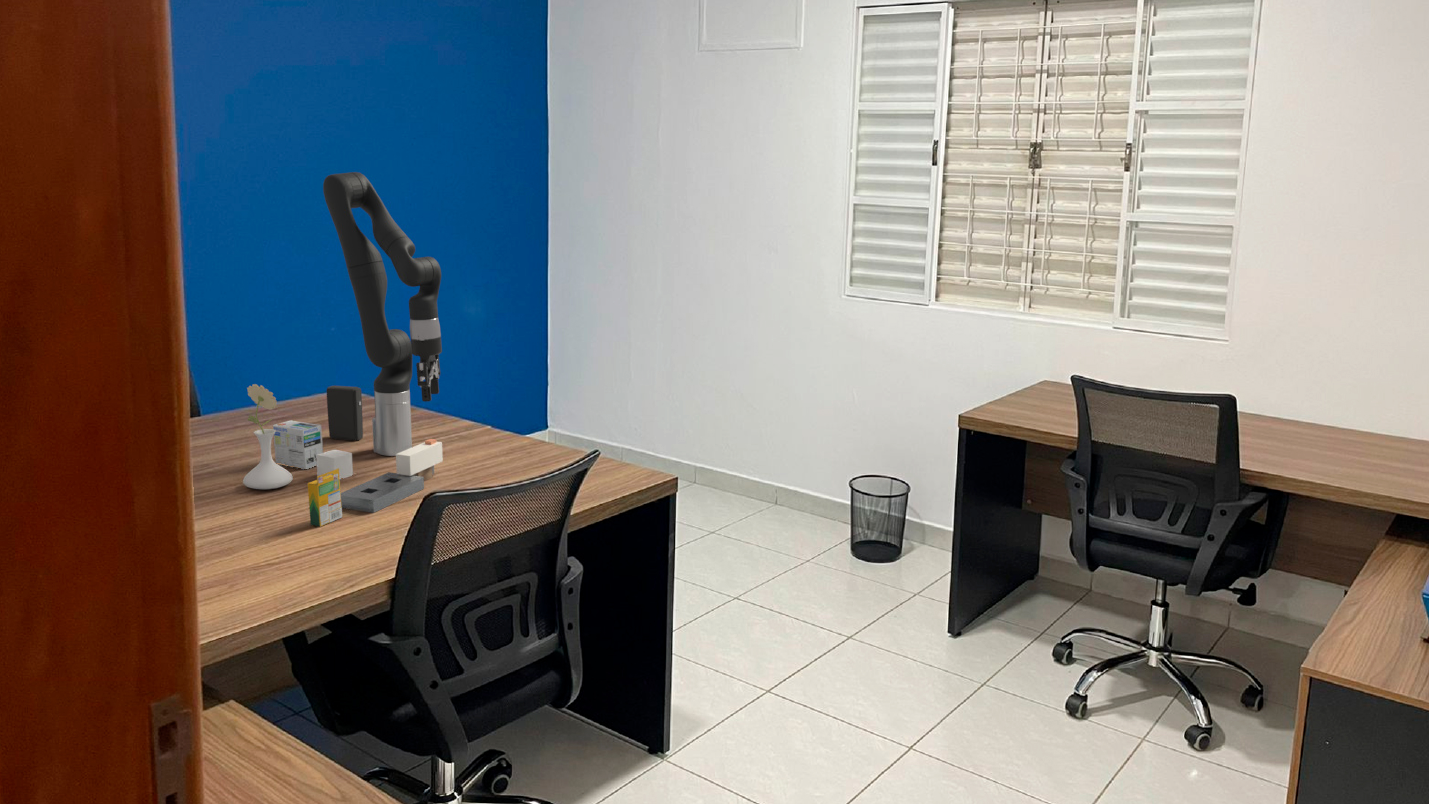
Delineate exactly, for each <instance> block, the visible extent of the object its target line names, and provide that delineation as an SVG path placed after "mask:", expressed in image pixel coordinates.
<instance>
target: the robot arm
mask: <svg viewBox="0 0 1429 804" xmlns="http://www.w3.org/2000/svg"><path fill="white" fill-rule="evenodd" d="M323 180H324V181H323V186H322V187H323V188H322V190H323V191H322V192H323V197H324V200H325V203H326V207H327V209H328V211H329V215H330V217H331V220H332V222H333V224H334V228H335V230H336V232H337V233H336V234H337V236H338V240H339V243H340V247H341V249H342V252H343V256H344V257H343V258H344V261H345V265H346V269H347V272H348V273H347V274H348V277H349V281H350V284H351V286H352V290H353V295H354V298H355V302H356V307H357V309H358V314H359V319H360V323H361V324H360V325H361V329H362V337H363V342H364V346H365V347H364V348H365V352H366V355H367V357H368V359H369V361H370V362H371V363H372V364H373V365H374V366H376V367H377V368H381V370H380V372H379V374H378V375H377V377H375V379H374V381H373V394H374V395H373V399H374V413H375V414H374V417H372V419H371V422H372V423H371V424H372V425H371V426H372V440H373V441H372V442H373V443H372V444H373V446H372V447H373V453H376V454H378V455H381V456H387V457H390V456H391V457H394V456H395V457H396V454H397V453H400V452H402V451H405V450H407V449H409V448H412V447H413V441H412V416H411V392H410V384H411V381H412V378H413V356H415V357H419V362H416V364H415V365H416V376H417V377H416V378H417V387H420V390H421V400H422V402H432V395H438V394H439V393H440V387H439V385H440V384H439V379H440V376H441V375H442V374H441V367H440V366H441V365H440V354H441V353H443V349H442V348H443V347H442V333H441V325H440V321H439V314H438V313H439V310H438V299H439V294H440V293H439V291H440V287H441V282H442V270H441V266H440V264H439V262H438V261H437V259H435V257H432V256H423V257H414V258H413V256H414V255H415V252H416V245H415V244H414V243H413V241H412V240H411V239H410V237H408V235H407V234H406V233H405V232H404V231H403V230H402V229H401V227H400V226H399V225H398V224H397V222H395V220H394V219H393V217H392V216H391V214H390V212H389V210H388V209H387V207H386V206H385V204H384V202H383V200H382V199H381V197H380V196H379V195H378V193H377V191H376V189H375V187H374V186H373V184H372V183H371V182H370V180H369V179H368V178H367V177H366V176H365V174H362V172H358V171H353V172H352V171H351V172H345V173H344V172H342V173H341V172H340V173H333V174H332V173H331V174H329V175H327V176H326V177H325V179H323ZM357 208H361V209H362V210H363V211H364V212H365V213H366V214H367V215H368V216H369V218H370V219H371V228H372V234H373V238H374V240H375V242H376V243H377V245H378V246H379V248H380V249H381V250H382V251H383V252H384V253H385V254H386V256H387V257H388V258H389V260H390V261H391V264H392V265H393V267H394V270H395V272H396V274H397V276H398V279H399V280H400V281H401V282H402V284H404V285H406V286H408V287H412V288H413V287H414V288H416V287H419V289H418V292H417V293H416V294H414V295H412V296H410V298H409V300H408V308H409V310H408V311H409V319H410V320H409V332H410V335H409V336H410V337H409V336H408V334H407V333H406V331H403V330H402V329H398V328H394V329H393V328H392V329H389V326H388V321H387V319H386V311H385V304H386V296H387V291H388V276H387V272H386V267H385V264H384V262H383V258H382V255H381V253H380V251H379V250H378V249H377V247H376V246H375V245H374V244H373V243H372V242H371V240H370V239H368V237H367V236H366V235H365V234H364V233H363V232H362V231H361V229H360V227H359V226H358V225H357V223H356V220H355V218H354V214H353V211H352V209H357Z"/></svg>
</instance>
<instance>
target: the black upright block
mask: <svg viewBox="0 0 1429 804" xmlns="http://www.w3.org/2000/svg"><path fill="white" fill-rule="evenodd" d="M362 397H363V396H362V389H361V388H360V387H358V386H347V385H346V386H345V385H330V386H328V387H327V388H326V404H327V421H328V435H329V438H330V439H332V440H340V441H341V440H342V441H343V440H344V441H354V440H356V441H359V440H361V439H363V437H364V419H363V400H362V399H363V398H362Z"/></svg>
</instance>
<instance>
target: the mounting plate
mask: <svg viewBox="0 0 1429 804" xmlns="http://www.w3.org/2000/svg"><path fill="white" fill-rule="evenodd" d="M424 489H425V481H424V477H421V476H413V475H411V476H409V475H401V474H397V472H385V473H384V474H382V475H379V476H377V477H375V478H373V479H370V480H367V481H365V482H363V483H360V484H357V485H356V486H354V487H352V488H350V489H347V490H344V491H342V492H340V493H341V507H342V509H345V508H346V510H354V511H358V512H359V511H360V512H366V513H367V512H368V513H373V514H374V513H377V512H378V511H381V510H382V509H385V508H387V507H390V506H391V505H394V504H395V503H398V502H400V501H401V500H404V499H405V498H407V497H409V496H412V495H413V494H415V493H418V492H420V491H422V490H424Z"/></svg>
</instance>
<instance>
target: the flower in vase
mask: <svg viewBox="0 0 1429 804" xmlns="http://www.w3.org/2000/svg"><path fill="white" fill-rule="evenodd" d="M246 389H247V395H248V397H250V398H251V400H252V401H253V402H254V404H256V405H257V406H256V407H255V408H256V409H255V414H254V415H255V416H254V415H252V414H249V415H248V418H247V421H248V422H252V423H254V424H256V425H257V424H258V426H259V428H260V429H257V430H255V431H253V434H254V435H255V437H256V438H257V440H258V442H259V447H260V453H261V456H260V461H259V463H258V464H257V465H256V466H255V467H254V468H252V469H251V470H250V471H249V472H248V473H246V475H245V476H244V477H243V480H242V484H243V485H244V486H245V487H247V488H250V489H253V490H272V489H278V488H282V487H284V486H286V485H289V484H290V483H291V482H292V481H293V479H294V478H293V477H294V476H293V475H292V473H291V472H290V471H289V470H287V469H285V467H284V466H282V465H278V464H276V461H274V459H273V457H272V456H273V455H272V442H273V441H272V440H273V438H274V433H275V432H276V430H273V428H263V426H265V425H267V424H269V423H270V422H271V421H272V420H273V418H270V419H269V420H266V421H264V422H263V423H262V424H261V423H260V421H259V419H258V410H259V407H261V408H263V409H265V410H267V409H268V410H270V411H271V410H274V409H277V408H278V406H277V403H278V402H277V400H276V399H277V398H276V397H275V396H273V395H274V393H273V392H272V391H269V389H267V388H265V387H264V386H263V385H261V384H260V386H259V385H258V384H256V383H254V384H252V386H251V385H249V386H248V387H246Z"/></svg>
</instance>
